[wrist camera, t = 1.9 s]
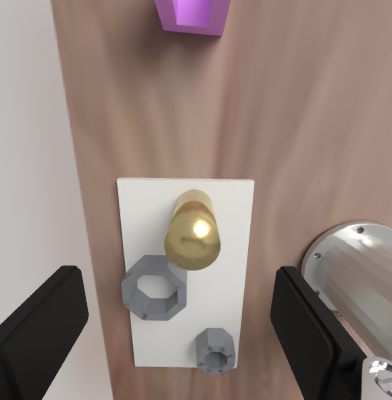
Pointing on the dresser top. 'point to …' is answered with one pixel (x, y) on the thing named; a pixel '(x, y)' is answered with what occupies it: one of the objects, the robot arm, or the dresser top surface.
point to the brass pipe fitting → (193, 232)
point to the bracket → (193, 15)
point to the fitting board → (202, 283)
